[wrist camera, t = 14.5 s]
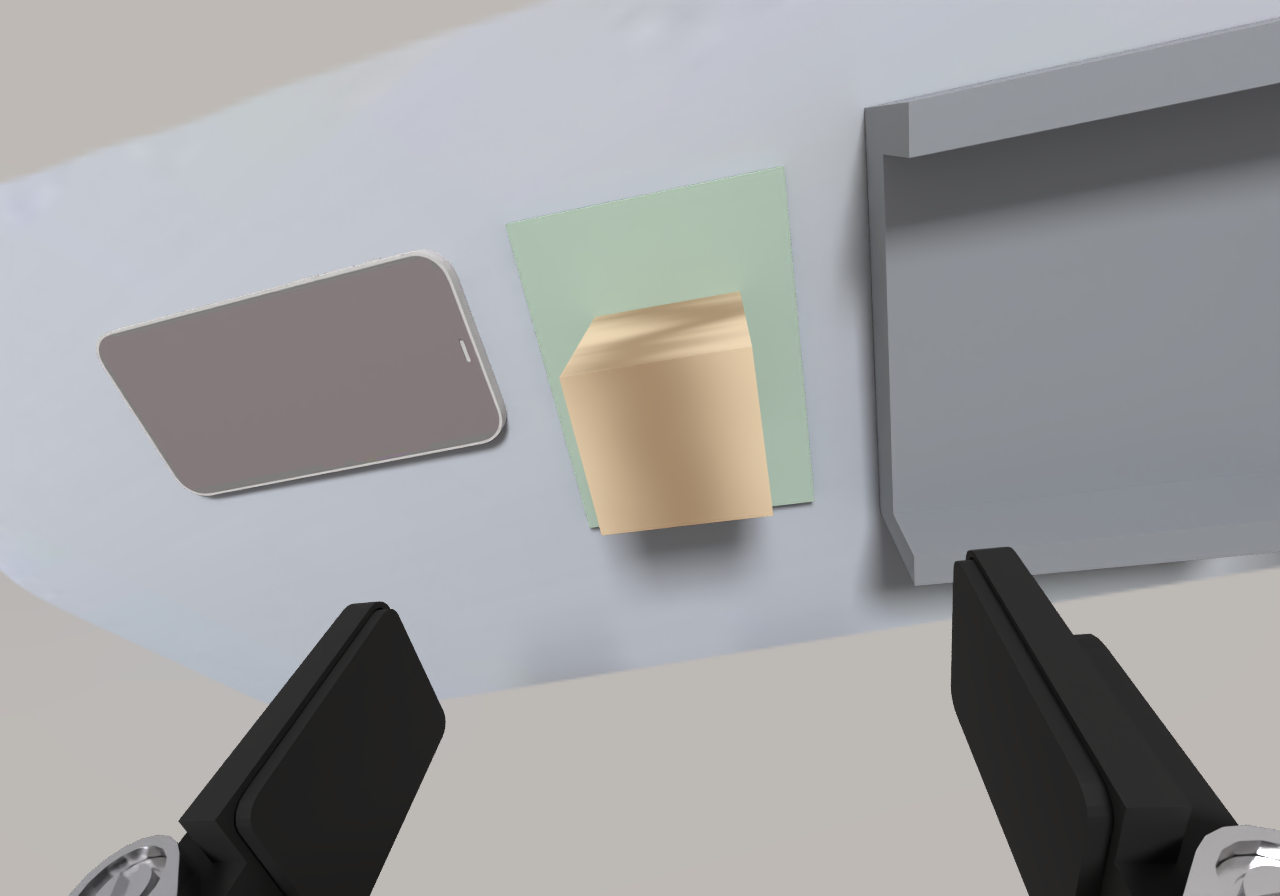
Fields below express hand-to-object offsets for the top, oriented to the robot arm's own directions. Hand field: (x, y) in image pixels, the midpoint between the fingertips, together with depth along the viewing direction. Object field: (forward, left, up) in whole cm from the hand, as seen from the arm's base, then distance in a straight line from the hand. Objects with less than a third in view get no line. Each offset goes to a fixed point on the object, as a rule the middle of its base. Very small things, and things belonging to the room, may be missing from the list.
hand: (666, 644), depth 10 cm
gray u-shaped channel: (-12, 0, -14) cm, 19 cm away
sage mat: (+1, 0, -14) cm, 14 cm away
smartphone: (+15, -2, -14) cm, 21 cm away
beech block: (0, 0, -13) cm, 13 cm away
